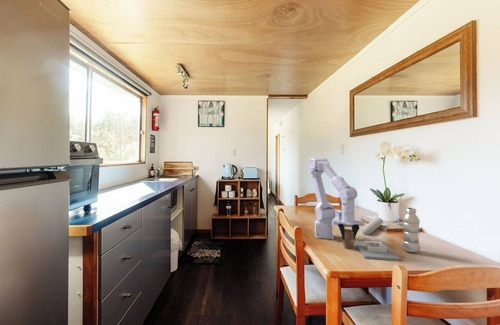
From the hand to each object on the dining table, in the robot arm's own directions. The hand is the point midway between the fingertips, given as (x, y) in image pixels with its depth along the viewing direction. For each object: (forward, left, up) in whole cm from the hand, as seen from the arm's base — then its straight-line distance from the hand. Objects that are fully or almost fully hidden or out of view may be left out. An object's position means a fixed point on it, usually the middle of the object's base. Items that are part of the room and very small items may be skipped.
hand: (348, 239), depth 108 cm
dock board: (+11, -3, -3) cm, 12 cm away
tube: (+20, +29, -4) cm, 35 cm away
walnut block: (0, 0, -3) cm, 3 cm away
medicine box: (+3, +38, -4) cm, 38 cm away
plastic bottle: (+27, -1, -4) cm, 27 cm away
